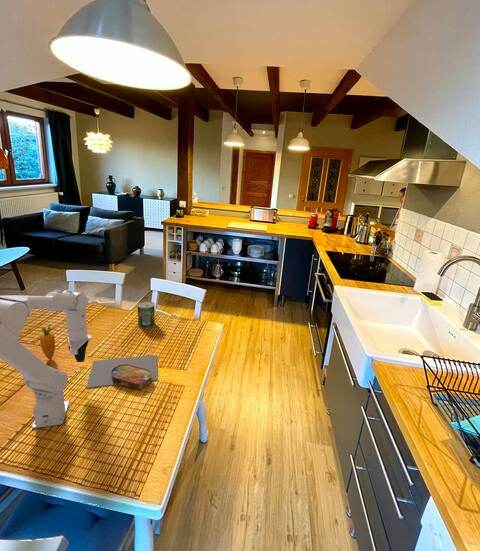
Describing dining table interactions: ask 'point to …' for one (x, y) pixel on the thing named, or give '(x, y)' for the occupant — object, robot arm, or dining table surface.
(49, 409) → the robot arm
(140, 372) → the tin
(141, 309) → the canned tomato
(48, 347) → the carrot
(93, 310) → the dining table surface
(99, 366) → the mat
